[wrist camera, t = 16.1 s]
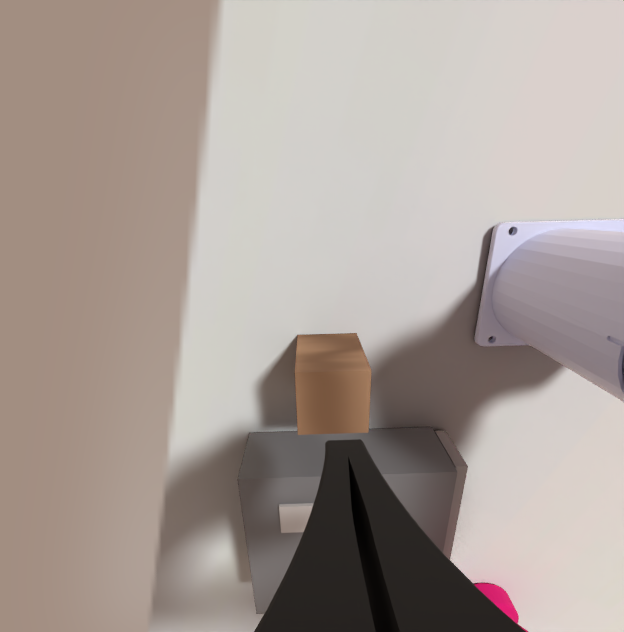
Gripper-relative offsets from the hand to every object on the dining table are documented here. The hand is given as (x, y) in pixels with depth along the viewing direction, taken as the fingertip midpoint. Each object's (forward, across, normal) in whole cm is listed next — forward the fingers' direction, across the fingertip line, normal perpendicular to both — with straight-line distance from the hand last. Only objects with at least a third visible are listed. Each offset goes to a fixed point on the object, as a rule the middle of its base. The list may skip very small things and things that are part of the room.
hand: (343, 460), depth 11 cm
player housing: (+10, -1, +14) cm, 17 cm away
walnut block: (+10, 0, +1) cm, 10 cm away
